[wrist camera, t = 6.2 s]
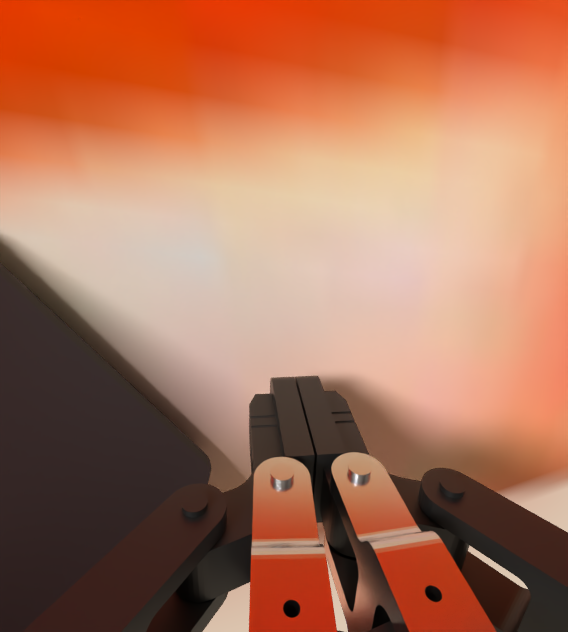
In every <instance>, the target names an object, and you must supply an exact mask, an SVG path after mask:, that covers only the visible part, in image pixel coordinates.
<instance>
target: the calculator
mask: <svg viewBox="0 0 568 632" xmlns="http://www.w3.org/2000/svg"><path fill="white" fill-rule="evenodd" d="M210 471H211V464H210V460H209V458H208V457H207V455H206V454H205V453H204V452H203V451H202V450H201V449H200V448H199V447H198V446H197V445H195V444H194V443H193V442H192V441H191V440H190V439H189V438H188V437H187V436H186V435H185V434H184V433H183V432H181V431H180V430H179V429H178V428H177V427H176V426H175V425H174V424H173V423H172V422H171V421H170V420H169V419H167V418H166V417H165V416H164V415H163V414H162V413H161V412H160V411H159V410H158V409H157V408H156V407H155V406H154V405H152V404H151V403H150V402H149V401H148V400H147V399H146V398H145V397H144V396H143V395H142V394H141V393H140V392H138V391H137V390H136V389H135V388H134V387H133V386H132V385H131V384H130V383H129V382H128V381H127V380H126V379H124V378H123V377H122V376H121V375H120V374H119V373H118V372H117V371H116V370H115V369H114V368H113V367H112V366H110V365H109V364H108V363H107V362H106V361H105V360H104V359H103V358H102V357H101V356H100V355H99V354H98V353H97V352H95V351H94V350H93V349H92V348H91V347H90V346H89V345H88V344H87V343H86V342H85V341H84V340H83V339H81V338H80V337H79V336H78V335H77V334H76V333H75V332H74V331H73V330H72V329H71V328H70V327H69V326H67V325H66V324H65V323H64V322H63V321H62V320H61V319H60V318H59V317H58V316H57V315H56V314H55V313H54V312H52V311H51V310H50V309H49V308H48V307H47V306H46V305H45V304H44V303H43V302H42V301H41V300H40V299H38V298H37V297H36V296H35V295H34V294H33V293H32V292H31V291H30V290H29V289H28V288H27V287H26V286H24V285H23V284H22V283H21V282H20V281H19V280H18V279H17V278H16V277H15V276H14V275H13V274H12V273H10V272H9V271H8V270H7V269H6V268H5V267H4V266H3V265H2V264H1V263H0V632H22V631H24V630H25V629H26V628H27V627H28V626H29V625H30V624H31V623H32V622H33V621H34V620H36V619H37V618H38V617H39V616H40V615H41V614H42V613H43V612H44V611H45V610H46V609H48V608H49V607H50V606H51V605H52V604H53V603H54V602H55V601H56V600H57V599H58V598H60V597H61V596H62V595H63V594H64V593H65V592H66V591H67V590H68V589H69V588H70V587H72V586H73V585H74V584H75V583H76V582H77V581H78V580H79V579H80V578H81V577H82V576H83V575H85V574H86V573H87V572H88V571H89V570H90V569H91V568H92V567H93V566H94V565H95V564H97V563H98V562H99V561H100V560H101V559H102V558H103V557H104V556H105V555H106V554H107V553H109V552H110V551H111V550H112V549H113V548H114V547H115V546H116V545H117V544H118V543H119V542H121V541H122V540H123V539H124V538H125V537H126V536H127V535H128V534H129V533H130V532H131V531H133V530H134V529H135V528H136V527H137V526H138V525H139V524H140V523H141V522H142V521H143V520H145V519H146V518H147V517H148V516H149V515H150V514H151V513H152V512H153V511H154V510H155V509H157V508H158V507H159V506H160V505H161V504H162V503H163V502H164V501H165V500H166V499H167V498H169V497H170V496H171V495H172V494H173V493H174V492H175V491H177V490H179V489H180V488H182V487H185V486H187V485H191V484H208V481H209V476H210Z"/></svg>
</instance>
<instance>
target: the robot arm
mask: <svg viewBox="0 0 568 632" xmlns="http://www.w3.org/2000/svg"><path fill="white" fill-rule="evenodd" d="M249 434H250V457H251V472H252V474H251V476H250V477H249V479H248V480H247V481H246V482H245V483H243V484H242V485H241V486H239V487H237V488H235V489H233V490H230V491H227V492H224V493H222V492H221V491H220V490H219V489H217V488H216V487H214V486H211V485H208V484H191V485H187V486H185V487H182V488H180V489H179V490H177V491H175V492H174V493H173V494H172V495H171V496H170V497H169V498H167V499H166V500H165V501H164V502H163V503H162V504H161V505H160V506H159V507H158V508H157V509H155V510H154V511H153V512H152V513H151V514H150V515H149V516H148V517H147V518H146V519H145V520H143V521H142V522H141V523H140V524H139V525H138V526H137V527H136V528H135V529H134V530H133V531H131V532H130V533H129V534H128V535H127V536H126V537H125V538H124V539H123V540H122V541H121V542H119V543H118V544H117V545H116V546H115V547H114V548H113V549H112V550H111V551H110V552H109V553H107V554H106V555H105V556H104V557H103V558H102V559H101V560H100V561H99V562H98V563H97V564H95V565H94V566H93V567H92V568H91V569H90V570H89V571H88V572H87V573H86V574H85V575H83V576H82V577H81V578H80V579H79V580H78V581H77V582H76V583H75V584H74V585H73V586H72V587H70V588H69V589H68V590H67V591H66V592H65V593H64V594H63V595H62V596H61V597H60V598H58V599H57V600H56V601H55V602H54V603H53V604H52V605H51V606H50V607H49V608H48V609H46V610H45V611H44V612H43V613H42V614H41V615H40V616H39V617H38V618H37V619H36V620H34V621H33V622H32V623H31V624H30V625H29V626H28V627H27V628H26V629H25V630H24V631H22V632H202V631H203V630H204V629H205V627H206V626H207V624H208V623H209V622H210V620H211V619H212V618H213V616H214V615H215V613H216V612H217V611H218V609H219V608H220V607H221V605H222V604H223V602H224V601H225V599H226V597H227V594H228V592H229V591H231V590H233V589H235V588H237V587H240V586H242V585H244V584H246V583H249V582H250V615H249V632H342V631H337V629H336V623H335V615H334V608H333V601H332V596H331V588H330V581H329V574H328V567H327V561H328V564H329V567H330V570H331V573H332V577H333V580H334V583H335V586H336V590H337V593H338V596H339V599H340V603H341V606H342V609H343V612H344V616H345V619H346V623H347V628H348V632H568V533H567V532H566V531H564V530H562V529H560V528H558V527H557V526H555V525H553V524H551V523H550V522H548V521H546V520H544V519H542V518H541V517H539V516H537V515H535V514H534V513H532V512H530V511H528V510H526V509H525V508H523V507H521V506H519V505H518V504H516V503H514V502H512V501H510V500H509V499H507V498H505V497H503V496H501V495H500V494H498V493H496V492H494V491H493V490H491V489H489V488H487V487H485V486H484V485H482V484H480V483H478V482H476V481H475V480H473V479H471V478H469V477H468V476H466V475H464V474H462V473H460V472H458V471H455V470H451V469H446V468H435V469H432V470H429V471H427V472H426V473H425V474H424V476H423V478H422V481H416V480H411V479H406V478H401V477H397V476H394V475H391V474H389V473H387V471H386V469H385V468H384V466H383V465H382V464H381V463H380V462H379V461H378V460H377V459H375V458H374V457H372V456H369V453H368V451H367V449H366V446H365V444H364V442H363V439H362V437H361V435H360V432H359V430H358V428H357V425H356V423H355V422H354V418H353V416H352V413H351V411H350V409H349V406H348V404H347V402H346V400H345V399H344V398H343V397H342V396H341V395H339V394H338V393H337V392H336V391H324V390H323V387H322V385H321V382H320V379H319V377H318V376H302V377H295V378H294V377H278V378H271V381H270V394H255V396H254V398H253V399H252V401H251V403H250V405H249ZM317 522H323V526H324V530H325V538H324V546H323V544H320V543H319V538H318V530H317ZM469 545H470V546H472V547H473V548H475V549H476V550H478V551H479V552H481V553H482V554H484V555H485V556H487V557H488V558H490V559H491V560H493V561H494V562H496V563H497V564H499V565H500V566H502V567H503V568H505V569H506V570H508V571H509V572H511V573H513V574H514V575H515V576H517V577H518V578H519V579H521V580H522V581H523V582H524V583H525V585H526V586H527V587H528V589H529V590H528V589H525V588H522V587H520V586H519V585H517V584H516V583H514V582H513V581H511V580H510V579H508V578H507V577H505V576H503V575H502V574H501V573H499V572H498V571H496V570H495V569H493V568H492V567H490V566H489V565H487V564H486V563H484V562H483V561H482V560H480V559H479V558H477V557H476V556H474V555H473V554H471V553H470V552H468V548H469ZM326 557H327V560H326Z"/></svg>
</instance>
